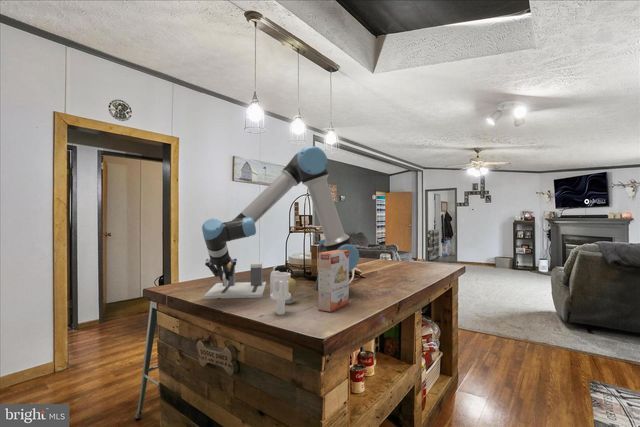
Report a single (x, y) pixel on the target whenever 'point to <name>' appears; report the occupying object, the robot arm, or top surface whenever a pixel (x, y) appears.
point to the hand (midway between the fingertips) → (226, 283)
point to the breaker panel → (235, 291)
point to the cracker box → (333, 280)
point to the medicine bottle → (277, 268)
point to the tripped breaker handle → (232, 278)
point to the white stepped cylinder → (280, 290)
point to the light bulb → (291, 289)
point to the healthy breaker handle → (256, 274)
